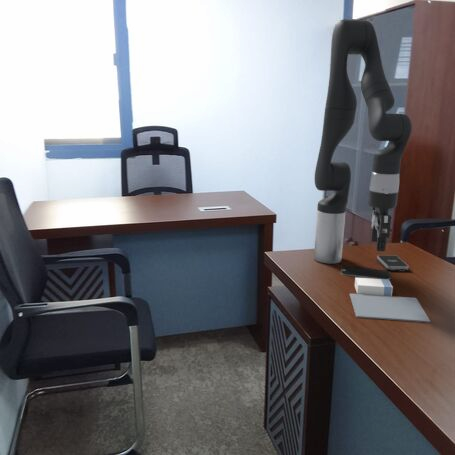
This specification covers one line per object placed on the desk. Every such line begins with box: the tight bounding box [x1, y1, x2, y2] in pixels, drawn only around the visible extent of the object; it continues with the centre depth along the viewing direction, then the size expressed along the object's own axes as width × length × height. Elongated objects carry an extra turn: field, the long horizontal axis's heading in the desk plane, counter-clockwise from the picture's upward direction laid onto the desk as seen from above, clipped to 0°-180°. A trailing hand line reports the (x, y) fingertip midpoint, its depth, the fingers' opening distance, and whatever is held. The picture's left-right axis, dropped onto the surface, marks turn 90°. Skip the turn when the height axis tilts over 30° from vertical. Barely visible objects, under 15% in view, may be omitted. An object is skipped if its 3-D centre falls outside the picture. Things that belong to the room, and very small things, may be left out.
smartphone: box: [340, 265, 392, 281], centre depth 148 cm, size 8×1×15 cm
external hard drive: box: [376, 254, 410, 272], centre depth 155 cm, size 7×11×2 cm, turn 1°
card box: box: [354, 277, 394, 296], centre depth 134 cm, size 10×6×3 cm, turn 83°
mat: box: [349, 293, 431, 323], centre depth 124 cm, size 14×18×1 cm
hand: (377, 246), depth 131 cm, fingers open, 8 cm apart
